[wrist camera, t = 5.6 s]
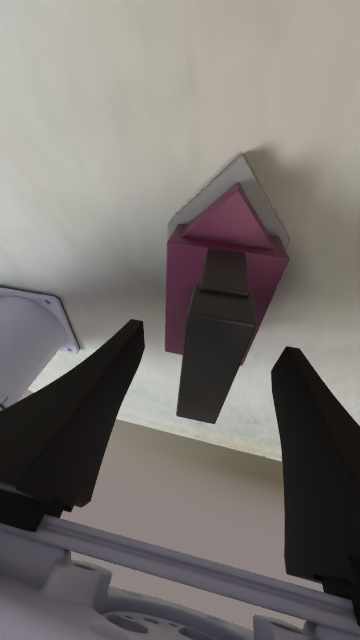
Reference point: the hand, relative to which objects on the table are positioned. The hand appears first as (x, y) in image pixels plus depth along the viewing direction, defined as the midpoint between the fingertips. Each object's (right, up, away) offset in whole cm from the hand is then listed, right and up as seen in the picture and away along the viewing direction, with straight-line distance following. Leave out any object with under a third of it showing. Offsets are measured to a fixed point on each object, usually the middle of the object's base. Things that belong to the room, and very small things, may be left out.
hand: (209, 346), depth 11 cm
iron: (+1, +5, +4) cm, 7 cm away
